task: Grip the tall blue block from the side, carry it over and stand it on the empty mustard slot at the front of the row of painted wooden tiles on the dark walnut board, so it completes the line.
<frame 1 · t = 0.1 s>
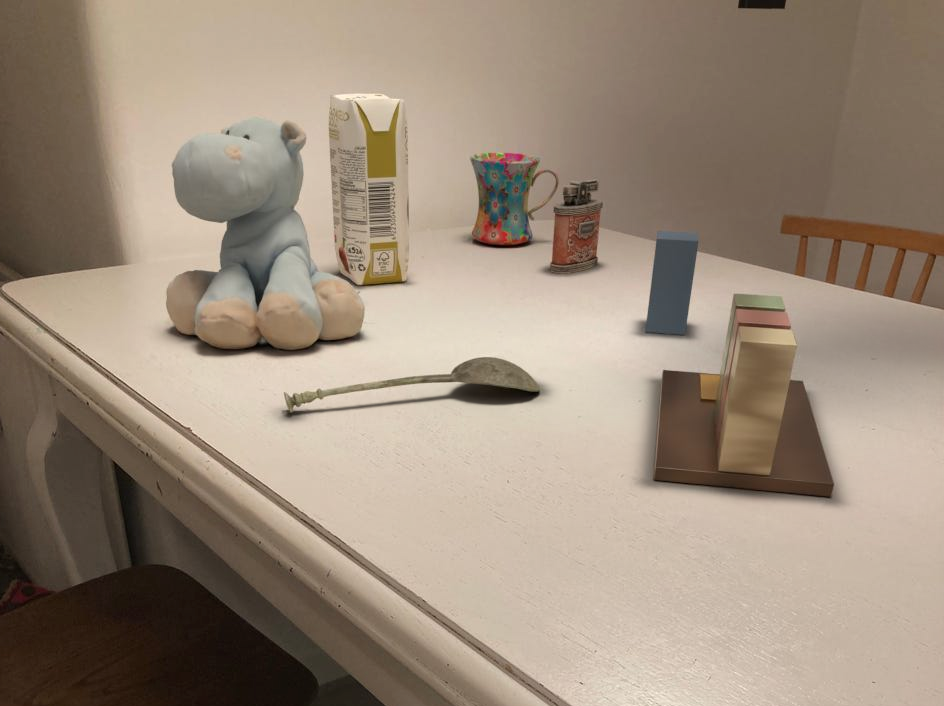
hand: (759, 9, 74), 28 cm above the table, tool pointing down, fingers open, 13 cm apart
blue block: (665, 328, 99), on the table
mug: (511, 243, 134), on the table
lighter: (573, 269, 122), on the table
hippo plush: (270, 322, 99), on the table
block row: (735, 431, 75), on the table
juice carton: (372, 279, 115), on the table
soupspoon: (416, 401, 80), on the table
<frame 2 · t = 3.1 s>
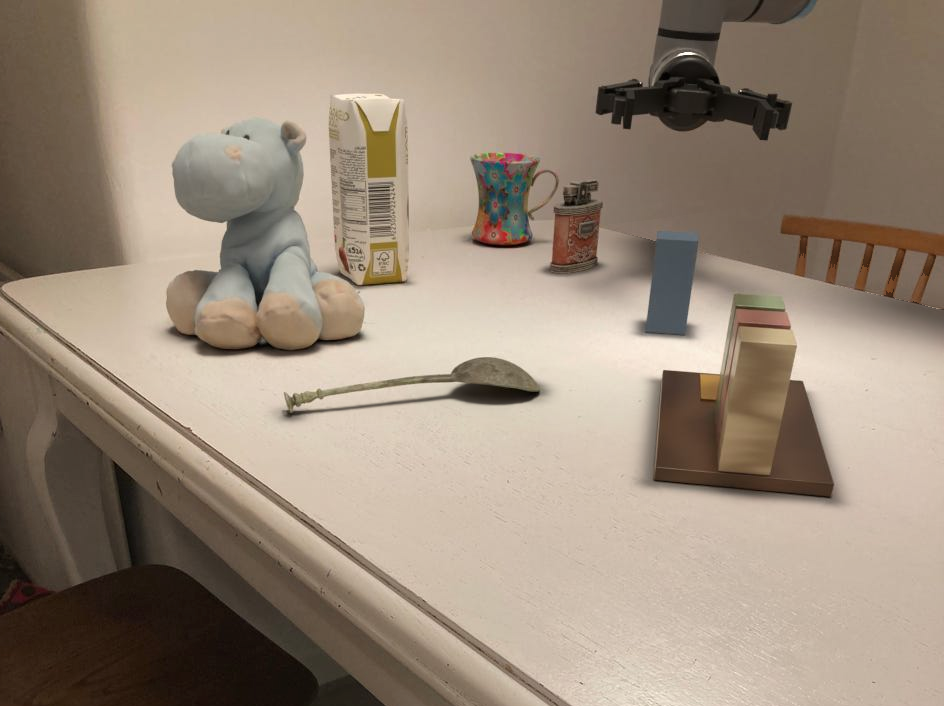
hand: (697, 119, 95), 18 cm above the table, tool horizontal, fingers open, 13 cm apart
nothing on the table moved.
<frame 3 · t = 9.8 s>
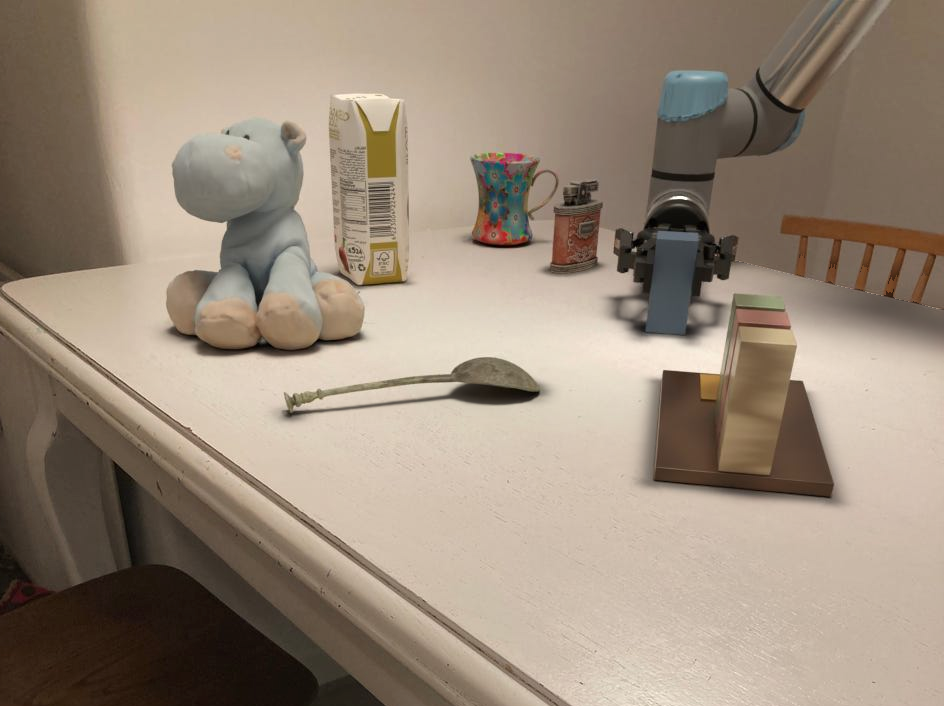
hand: (672, 280, 92), 6 cm above the table, tool horizontal, fingers closed on blue block, 4 cm apart
blue block: (665, 328, 99), on the table, touching gripper
everything else where it was.
when the fingers open (7 cm above the table, at t = 19.1 s): blue block stays where it is, resting on block row.
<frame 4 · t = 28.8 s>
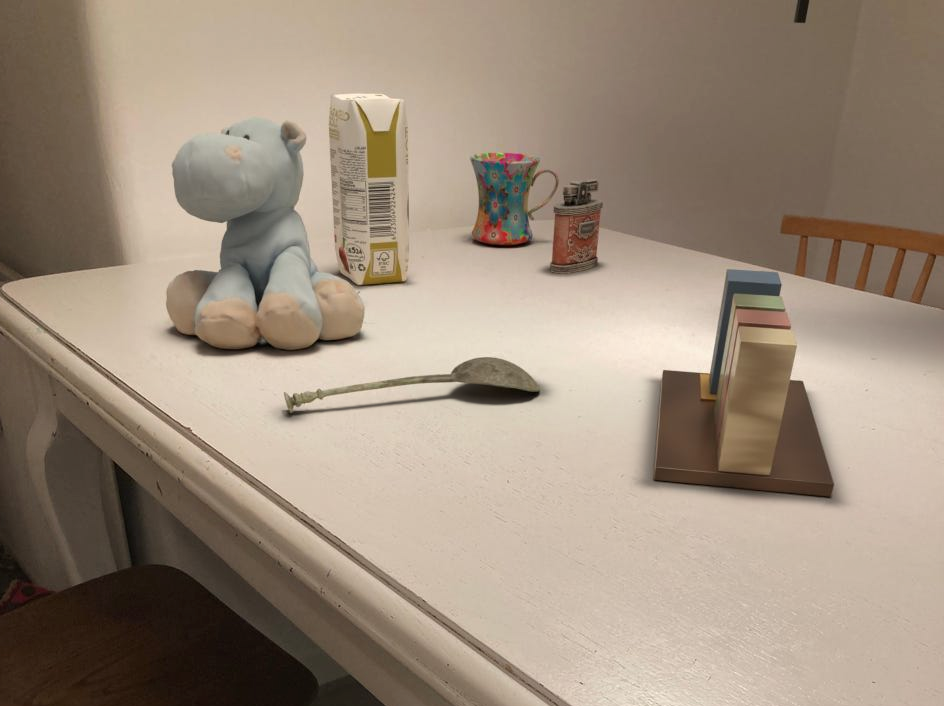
hand: (878, 25, 85), 27 cm above the table, tool pointing down, fingers open, 13 cm apart
blue block: (733, 388, 80), point 1 cm above the table, touching block row
everything else where it was.
at the end: blue block 0.1 cm from the target spot on the block row, point 1.2 cm above the block row's base; blue block tilted 0°; the gripper is holding nothing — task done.
